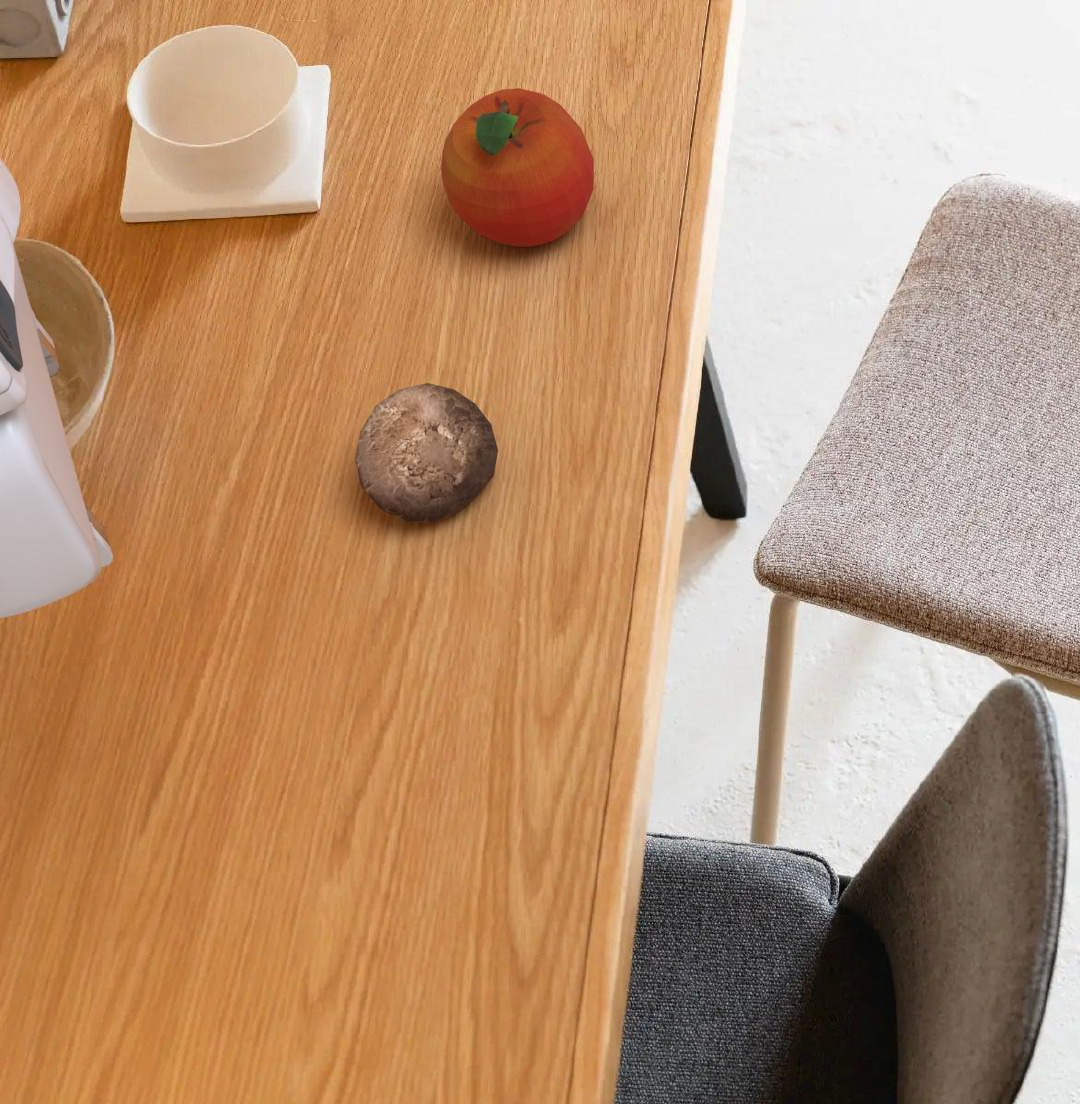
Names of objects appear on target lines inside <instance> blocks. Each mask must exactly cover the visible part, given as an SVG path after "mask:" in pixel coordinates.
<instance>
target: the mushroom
mask: <svg viewBox="0 0 1080 1104" xmlns="http://www.w3.org/2000/svg"><path fill="white" fill-rule="evenodd" d="M498 454H499V448H498V444H497V441H496V437H495V433H494V428H493V426H492V423H491V422H490V420H489V419H488V417H486V416H485V414H484V413H483V411H481V409H480V408H479V406H478V405H477V404H476V403H475V402H474V401H472V400H470V399H469V398H467V396H465V395H463V394H462V393H461V392H458V390H456V389H454V388H451V387H447V386H442V385H441V386H440V385H437V384H433V383H430V382H426V383H421V384H417V385H412V386H408V387H403V388H399V389H397V390H396V391H395V392H393V393H392V394H390V395H389V396H387V397H386V398H384V399H383V400H381V401H380V402H378V403H376V405H375V406H374V408H373V409H372V412H371V413H370V414H369V416H368V418H367V420H366V422H365V423H364V424H363V426H362V428H361V429H360V431H359V436H358V441H357V446H356V452H355V457H354V462H355V466H356V471H357V475H358V479H359V483H360V487H361V489H362V490H363V491H364V492H365V493H366V495H367V496H368V497H369V498H370V499H371V500H372V501H373V502H374V503H375V504H376V506H377V507H378V508H379V509H380V510H381V511H384V512H386V513H388V514H390V515H393V516H394V517H396V518H398V519H400V520H402V521H404V522H412V523H413V522H414V523H425V524H434V523H436V522H438V521H442V520H444V519H446V518H449V517H452V516H455V515H457V514H458V513H459V512H461V511H462V510H463V509H464V508H465V507H467V506H468V505H470V504H471V503H472V502H473V501H475V500H476V499H477V498H478V497H479V495H480V494H481V493H482V491H484V489H485V488H486V486H487V485H488V484H489V483H490V482H491V480H492V479H493V478H494V476H495V471H496V470H495V469H496V465H497V459H498Z"/></svg>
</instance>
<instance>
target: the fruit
mask: <svg viewBox="0 0 1080 1104" xmlns="http://www.w3.org/2000/svg"><path fill="white" fill-rule="evenodd" d="M587 141H588V140H587V139H586V136H585V134H584V132H583V129H582V128H581V126H580V125H579V124H578V123H577V122H576V120H575V119H574V118H573V117H572V116H571V114H570V113H569V112H568V111H567V110H566V109H565V108H564V107H563V106H562V105H561V104H560V102H559V103H558V102H557V101H555V100H554V99H552V98H551V97H549V96H547V95H546V94H545V93H541V92H538V91H534V90H530V89H529V90H528V89H524V88H519V87H516V88H503V89H499V90H496V91H493V92H491V93H488V94H486V95H484V96H482V97H481V98H479V99H478V100H476V101H475V102H473V103H472V104H470V105H469V107H467V108H466V110H465V111H464V112H463V113H462V114H461V115H460V116H459V117H458V118H457V119H456V120H455V122H454V123H453V124H452V126H451V128H450V129H449V132H448V134H447V135H446V138H445V140H444V144H443V149H442V155H441V163H440V173H441V174H440V175H441V179H442V185H443V188H444V190H445V194H446V196H447V200H448V201H449V204H450V205H451V207H452V209H453V210H454V212H455V213H456V215H457V216H458V217H460V219H461V220H462V221H463V222H465V223H466V224H467V225H468V226H469V227H470V228H471V229H472V230H473V231H475V233H477V234H478V235H480V236H483V237H484V238H487V239H489V240H491V241H493V242H496V243H499V244H502V245H507V246H511V247H517V248H523V247H536V246H537V247H538V246H541V245H544V244H548V243H551V242H554V241H555V240H556V239H558V238H560V237H562V236H564V235H566V233H568V232H569V231H570V230H571V229H572V228H573V227H574V226H575V225H576V224H577V223H578V221H580V219H582V217H583V216H584V213H585V212H586V209H587V207H588V205H589V203H590V200H591V197H592V194H593V192H594V185H595V184H594V183H595V182H594V180H595V165H594V162H595V161H594V156H593V154H592V151H591V149H590V147H589V144H588V142H587Z"/></svg>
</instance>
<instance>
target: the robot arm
mask: <svg viewBox="0 0 1080 1104" xmlns="http://www.w3.org/2000/svg"><path fill="white" fill-rule="evenodd" d="M21 206H22V205H21V197H20V192H19V188H18V186H17V182H16V180H15V178H14V176H13V174H12V172H11V171H10V170H9V167H8V166H7V165H6V164H5V163H4V161H3V159H2V158H1V157H0V619H5V618H12V617H16V616H19V615H22V614H26V613H29V612H32V611H34V610H37V609H39V608H42V607H45V606H48V605H51V604H53V603H56V602H57V601H60V600H62V599H64V598H66V597H69V596H71V595H73V594H75V593H77V592H79V591H81V590H83V589H85V588H86V587H88V586H90V585H91V584H93V583H94V582H95V581H96V580H97V579H98V578H99V577H100V575H101V573H102V569H103V568H106V567H107V566H109V565H110V564H111V563H112V562H113V561H114V555H113V551H112V548H111V543H110V540H109V536H108V534H107V531H106V528H105V527H106V526H105V525H104V523H103V522H101V521H99V520H98V518H97V516H96V515H95V513H93V511H92V510H91V509H90V508H89V507H88V506H86V503H85V502H84V501H85V500H84V497H83V493H82V489H81V486H80V482H79V478H78V474H77V472H76V467H75V463H74V460H73V457H72V452H71V449H70V446H69V441H68V439H67V434H66V431H65V427H64V424H63V420H62V416H61V413H60V409H59V406H58V401H57V399H56V395H55V391H54V387H53V383H52V380H51V378H53V377H56V376H57V375H58V373H59V372H60V371H61V370H60V369H61V367H60V364H59V359H58V355H57V350H56V347H55V344H54V340H53V339H52V337H51V336H50V335H49V333H48V332H47V331H46V330H45V327H43V325H42V324H41V323H40V321H39V320H38V319H37V317H36V314H35V313H34V310H33V309H32V306H31V303H30V299H29V295H28V292H27V289H26V285H25V282H24V278H23V274H22V269H21V267H20V263H19V259H18V256H17V251H16V248H15V245H14V244H15V241H16V239H17V235H18V232H19V228H20V222H21V214H22V207H21Z"/></svg>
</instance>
